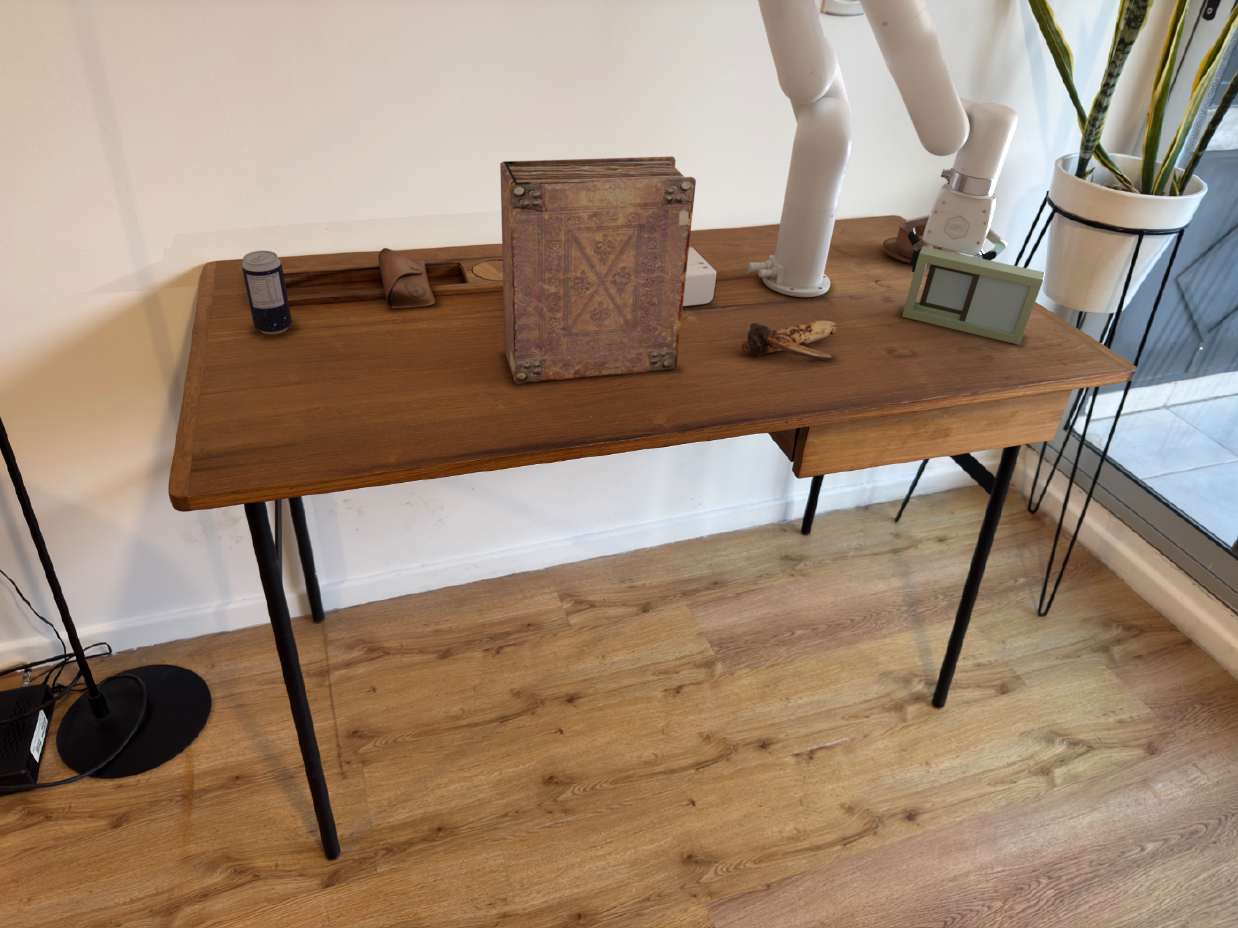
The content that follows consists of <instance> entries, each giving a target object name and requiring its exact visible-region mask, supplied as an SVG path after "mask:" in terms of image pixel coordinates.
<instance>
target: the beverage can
mask: <svg viewBox="0 0 1238 928" xmlns="http://www.w3.org/2000/svg"><path fill="white" fill-rule="evenodd" d="M242 260H243V261H242V265H241V269H242V270H241V271H242V273H243V279H244V284H245V290H246V294H247V299H248V305H249V309H250V314H251V318H252V323H253V327H254V328H255V329H256V330H258V331H259V332H260V333H262V334H264V335H278V334H282V333H284V332H286V331H287V330H288V328H289V327H290V326H292V323H293V319H292V315H291V308H290V303H289V297H288V296H289V295H288V292H287V286H286V281H285V273H284V269H283V264H282V261H281V259H279V257H278V253H276V252H273V251H271V250H254V251H251V252H248V253H246V254H245V255H243V257H242Z"/></svg>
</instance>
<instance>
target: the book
mask: <svg viewBox="0 0 1238 928" xmlns="http://www.w3.org/2000/svg"><path fill="white" fill-rule="evenodd" d="M676 162H677V161H676V158H675V157H674V156H673V155H672V156H639V157H638V156H637V157H608V158H605V157H604V158H602V157H601V158H573V159H572V158H570V159H540V160H539V159H538V160H508V161H507V160H505V161H501V162H500V164H499V167H500V169H499V170H500V208H501V210H500V211H501V251H502V292H503V293H502V295H503V297H502V298H503V334H504V335H503V337H504V338H503V339H504V340H503V342H504V355H505V357H506V360H507V363H508V366H509V368H510V371H511V374H512V378H513V380H514V383H515V385H519V384H531V383H543V382H556V381H565V380H566V381H567V380H578V379H590V378H598V377H599V378H600V377H612V376H624V375H635V374H636V375H637V374H649V373H659V372H661V373H662V372H670V371H672V372H673V371H676V369H677V366H678V357H679V347H680V336H681V329H682V328H681V327H682V319H683V309H684V307H683V300H684V290H685V280H686V271H687V261H688V252H689V248H690V240H691V231H692V223H693V212H694V202H695V194H696V185H697V184H696V183H697V180H696V178H695V177H693V176H684V175H683V174H682V173H681V172H680V171H679V170H678V169H677V168H676Z"/></svg>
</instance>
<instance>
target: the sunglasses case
mask: <svg viewBox="0 0 1238 928" xmlns="http://www.w3.org/2000/svg"><path fill="white" fill-rule="evenodd" d="M378 253H379V254H378V256H377V257H378V258H377V259H378V265H379V266H378V267H379V271H380V277H381V281H382V286H383V292H384V296H385V301H386V303H387V305H389V307H390V308H392V309H394V310H399V309H400V310H402V309H403V310H405V309H417V308H424V307H431V306H433V305H435V304H436V299H435V296H434V293H433V291H432V289H431V286H430V281H429V278H428V274H427V269H426V261H425V260H423V259H419V258H415V257H412V256H409V255H405V254H401V253H399V252H397V251H395V250H393V249H391V248H388V247H384V248H382V249H381V250H380V252H378Z"/></svg>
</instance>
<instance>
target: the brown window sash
mask: <svg viewBox="0 0 1238 928" xmlns="http://www.w3.org/2000/svg"><path fill="white" fill-rule="evenodd" d="M929 265H930V266H929V269H928V272H927V276H926V280H925V282H924V286H923V290H922V293H921V296H920V300H919V302H920V303H919V305H922V306H926V307H930V308H934V309H939V310H943V311H947V312H951V313H956V314H960V315H961V312H962V309H963V306H964V303H965V300H966V297H967V294H968V291H969V287H970V284H971V281H972V278H973V275H974V274H973V273H969V272H964V271H960V270H955V269H951V268H946V267H941V266H937V265H932V264H929Z"/></svg>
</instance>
